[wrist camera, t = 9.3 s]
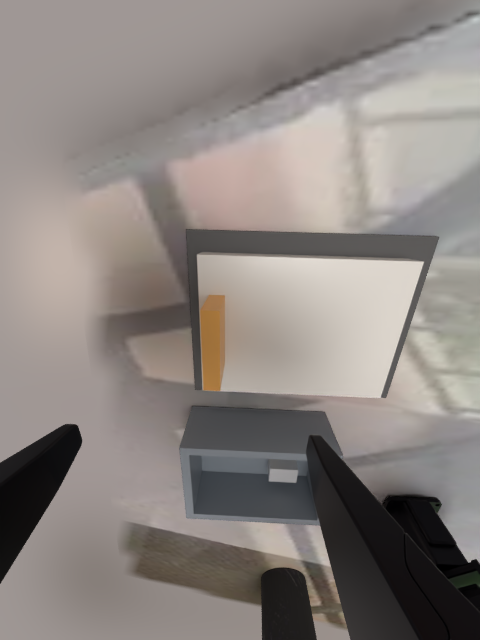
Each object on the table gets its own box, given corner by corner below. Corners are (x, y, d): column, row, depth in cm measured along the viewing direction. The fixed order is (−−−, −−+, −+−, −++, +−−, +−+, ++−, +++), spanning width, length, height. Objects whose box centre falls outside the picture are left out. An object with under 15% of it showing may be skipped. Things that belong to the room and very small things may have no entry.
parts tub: (311, 475, 28) (324, 525, 23) (196, 470, 28) (186, 518, 23) (324, 412, 24) (343, 455, 19) (192, 406, 24) (179, 448, 20)
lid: (369, 383, 22) (405, 430, 17) (206, 377, 22) (194, 421, 17) (405, 258, 18) (469, 270, 12) (202, 252, 18) (184, 261, 13)
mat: (383, 395, 23) (386, 397, 23) (196, 387, 23) (195, 389, 23) (435, 236, 17) (439, 236, 17) (187, 229, 18) (185, 229, 17)
